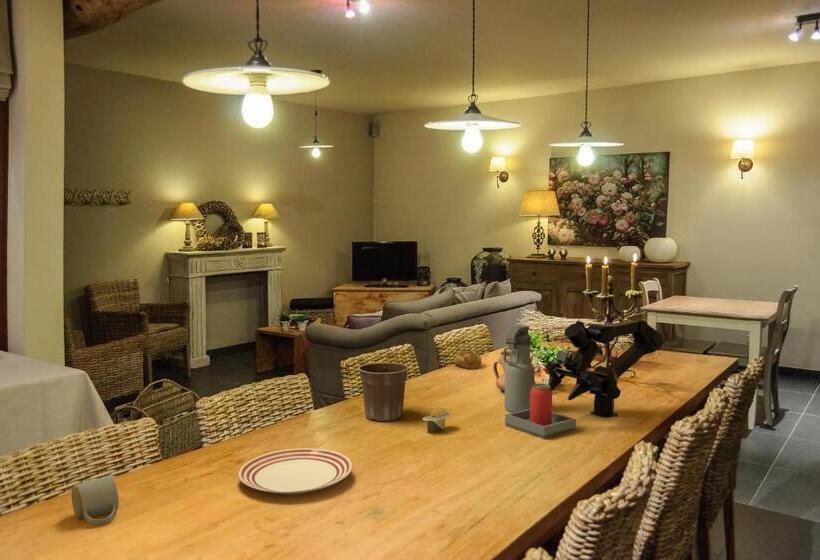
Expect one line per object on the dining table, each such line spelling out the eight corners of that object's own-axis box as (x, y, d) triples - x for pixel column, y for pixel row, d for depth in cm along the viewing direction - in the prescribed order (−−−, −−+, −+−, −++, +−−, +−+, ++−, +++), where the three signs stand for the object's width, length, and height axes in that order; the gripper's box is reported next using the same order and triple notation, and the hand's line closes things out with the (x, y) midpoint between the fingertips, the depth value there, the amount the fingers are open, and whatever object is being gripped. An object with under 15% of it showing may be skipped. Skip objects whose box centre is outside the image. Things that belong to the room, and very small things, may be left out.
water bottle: (520, 415, 223) (521, 330, 220) (497, 409, 230) (498, 326, 227) (539, 410, 229) (541, 327, 227) (517, 403, 237) (518, 323, 234)
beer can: (544, 429, 205) (545, 389, 204) (525, 424, 210) (526, 386, 209) (555, 424, 210) (556, 386, 209) (537, 420, 215) (538, 382, 214)
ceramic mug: (70, 513, 149) (69, 479, 148) (110, 503, 154) (109, 470, 153) (83, 531, 141) (82, 495, 140) (124, 520, 146) (123, 485, 145)
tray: (536, 417, 221) (536, 407, 220) (575, 430, 208) (576, 419, 207) (505, 425, 212) (505, 414, 212) (543, 439, 199) (544, 427, 199)
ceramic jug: (545, 391, 254) (546, 353, 252) (526, 399, 242) (526, 360, 241) (503, 383, 265) (504, 347, 263) (483, 391, 254) (483, 353, 252)
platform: (471, 428, 210) (471, 407, 210) (434, 443, 197) (435, 421, 196) (440, 421, 218) (440, 400, 217) (403, 434, 204) (403, 413, 204)
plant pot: (351, 412, 226) (351, 364, 224) (397, 407, 232) (397, 360, 231) (368, 426, 211) (368, 374, 209) (416, 420, 217) (416, 370, 216)
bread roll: (448, 366, 296) (448, 347, 295) (464, 363, 302) (464, 345, 301) (469, 371, 286) (470, 352, 285) (486, 368, 292) (486, 349, 291)
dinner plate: (301, 513, 150) (301, 498, 150) (214, 486, 165) (214, 473, 164) (374, 473, 173) (374, 460, 173) (291, 453, 188) (291, 441, 187)
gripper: (549, 336, 222) (523, 374, 217) (593, 346, 206) (566, 387, 201) (567, 357, 227) (541, 395, 222) (611, 368, 211) (585, 409, 206)
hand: (557, 396), depth 213 cm, fingers open, 9 cm apart
